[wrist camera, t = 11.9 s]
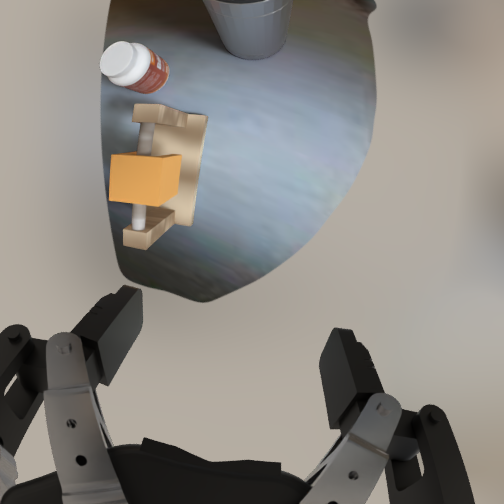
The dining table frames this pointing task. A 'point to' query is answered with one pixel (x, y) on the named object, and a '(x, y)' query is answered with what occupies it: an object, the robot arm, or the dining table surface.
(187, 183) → the rack
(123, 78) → the pill bottle
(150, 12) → the dining table surface
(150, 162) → the notched orange block
